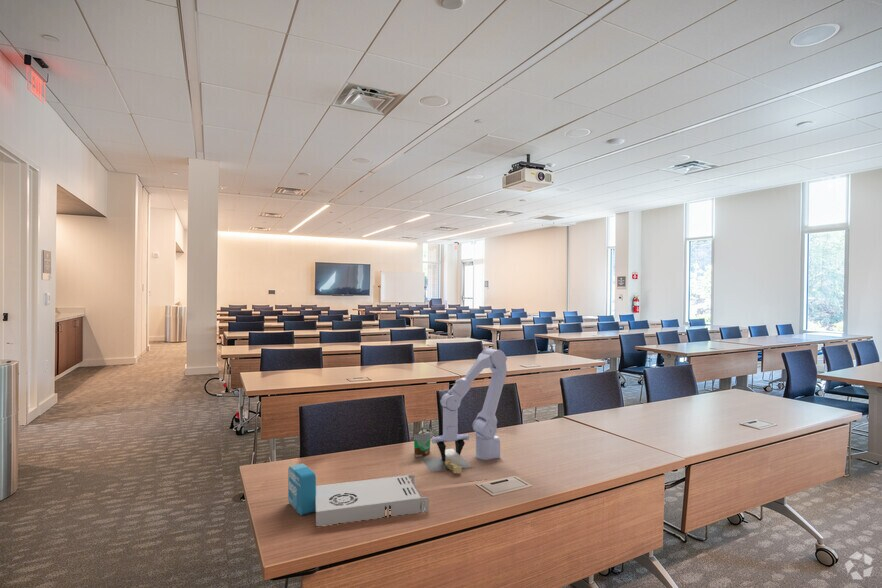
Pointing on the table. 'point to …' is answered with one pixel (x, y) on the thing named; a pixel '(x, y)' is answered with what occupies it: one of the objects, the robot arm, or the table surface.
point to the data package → (302, 488)
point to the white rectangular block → (452, 456)
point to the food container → (422, 442)
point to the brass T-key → (452, 466)
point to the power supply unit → (368, 500)
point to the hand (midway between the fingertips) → (450, 460)
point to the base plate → (441, 464)
